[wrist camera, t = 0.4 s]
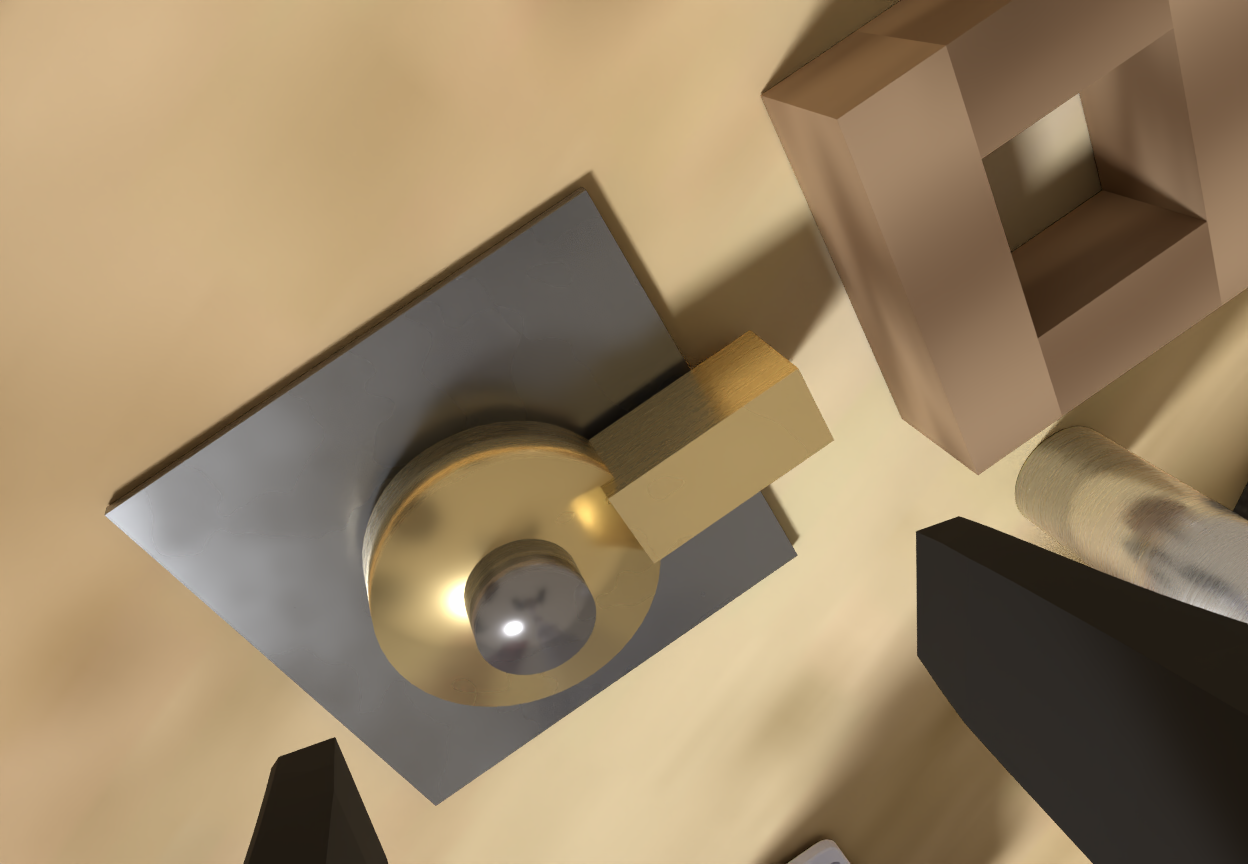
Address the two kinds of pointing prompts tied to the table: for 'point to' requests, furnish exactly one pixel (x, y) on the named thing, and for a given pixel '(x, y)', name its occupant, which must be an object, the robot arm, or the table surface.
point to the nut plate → (394, 435)
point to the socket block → (966, 210)
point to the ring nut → (569, 527)
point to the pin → (1136, 521)
